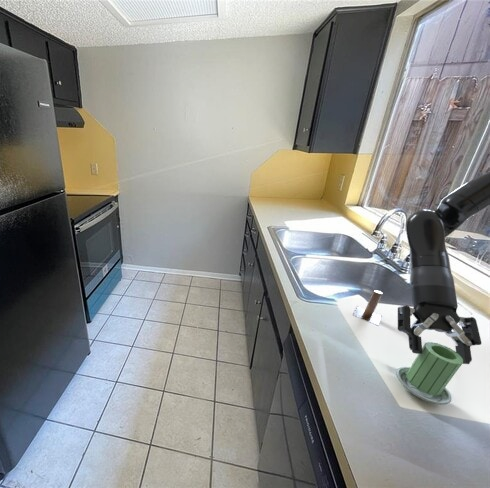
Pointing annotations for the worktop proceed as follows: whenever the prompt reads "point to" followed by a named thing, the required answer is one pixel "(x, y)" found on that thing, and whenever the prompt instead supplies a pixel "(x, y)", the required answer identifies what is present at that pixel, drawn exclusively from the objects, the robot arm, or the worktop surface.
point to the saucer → (438, 399)
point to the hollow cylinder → (434, 368)
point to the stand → (370, 309)
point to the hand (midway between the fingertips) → (440, 358)
